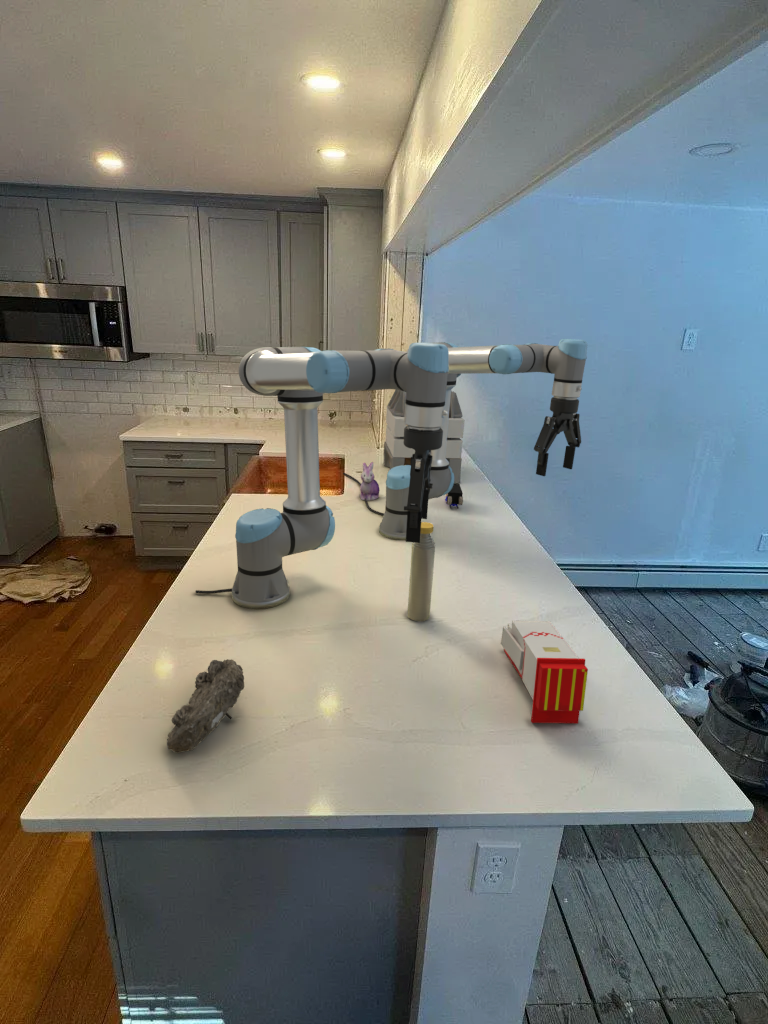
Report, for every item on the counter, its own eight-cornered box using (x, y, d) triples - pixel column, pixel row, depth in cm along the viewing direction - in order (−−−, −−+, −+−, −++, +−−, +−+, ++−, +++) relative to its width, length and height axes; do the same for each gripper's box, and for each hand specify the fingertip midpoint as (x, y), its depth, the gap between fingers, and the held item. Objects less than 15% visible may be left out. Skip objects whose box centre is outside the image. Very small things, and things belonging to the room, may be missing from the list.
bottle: (406, 620, 145) (412, 529, 136) (408, 609, 150) (414, 521, 142) (428, 622, 144) (435, 531, 136) (430, 611, 149) (437, 523, 141)
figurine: (364, 502, 230) (365, 466, 225) (353, 495, 238) (354, 460, 233) (384, 500, 234) (386, 464, 229) (373, 492, 242) (375, 458, 237)
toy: (547, 606, 135) (596, 665, 106) (541, 658, 138) (589, 729, 108) (496, 604, 134) (532, 664, 105) (492, 657, 137) (526, 729, 108)
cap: (415, 533, 137) (415, 527, 137) (416, 527, 141) (417, 521, 141) (432, 534, 137) (432, 528, 136) (433, 528, 141) (434, 522, 140)
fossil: (192, 660, 117) (244, 628, 112) (224, 691, 120) (276, 661, 115) (142, 746, 98) (202, 712, 93) (182, 779, 101) (242, 748, 96)
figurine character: (463, 514, 226) (458, 498, 239) (465, 496, 223) (460, 481, 236) (446, 513, 226) (442, 497, 239) (448, 496, 222) (444, 481, 236)
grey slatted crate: (382, 463, 289) (386, 382, 275) (445, 464, 293) (451, 384, 279) (390, 482, 257) (394, 392, 243) (460, 483, 261) (468, 394, 247)
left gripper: (437, 442, 97) (429, 555, 104) (447, 417, 120) (440, 511, 127) (394, 438, 98) (389, 551, 105) (412, 414, 121) (407, 508, 128)
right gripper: (551, 402, 146) (540, 481, 154) (601, 396, 162) (589, 468, 169) (527, 398, 152) (517, 474, 159) (577, 393, 167) (566, 462, 174)
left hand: (416, 529), depth 116 cm, fingers open, 13 cm apart
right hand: (554, 471), depth 164 cm, fingers open, 13 cm apart
